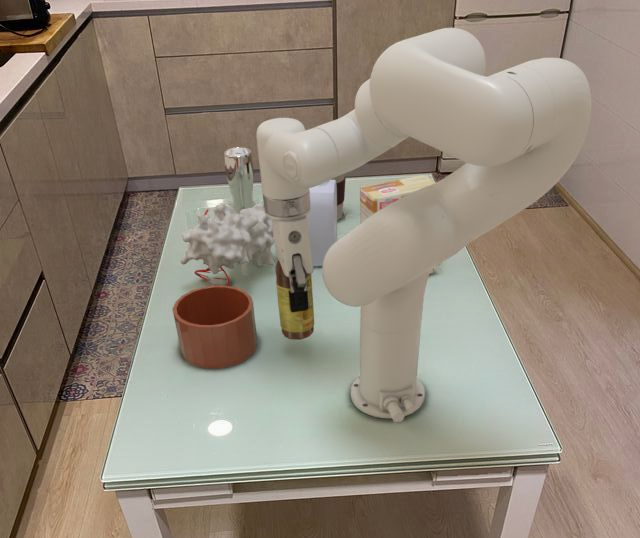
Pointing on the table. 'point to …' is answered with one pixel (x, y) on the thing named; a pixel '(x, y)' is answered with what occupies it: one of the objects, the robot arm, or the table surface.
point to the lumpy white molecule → (230, 239)
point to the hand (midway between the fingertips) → (295, 300)
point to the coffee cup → (340, 194)
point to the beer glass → (240, 177)
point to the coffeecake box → (389, 194)
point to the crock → (216, 326)
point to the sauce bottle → (291, 322)
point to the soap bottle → (322, 220)
